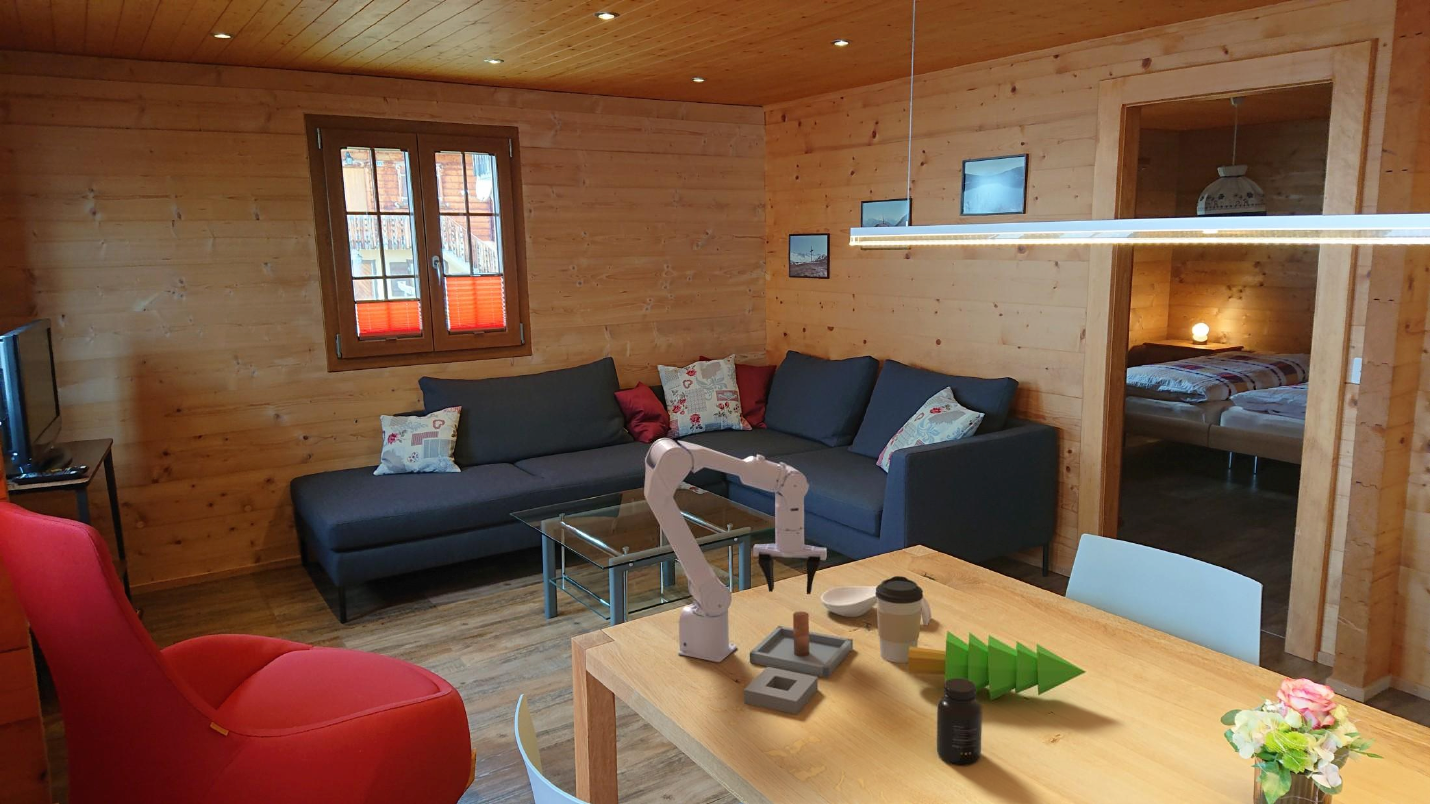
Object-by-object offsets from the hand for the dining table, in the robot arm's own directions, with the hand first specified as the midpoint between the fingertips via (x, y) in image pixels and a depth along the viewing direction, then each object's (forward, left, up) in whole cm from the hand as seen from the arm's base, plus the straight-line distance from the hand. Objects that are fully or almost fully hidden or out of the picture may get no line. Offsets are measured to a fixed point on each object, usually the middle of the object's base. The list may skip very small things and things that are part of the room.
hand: (790, 591), depth 192 cm
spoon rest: (+11, +20, -11) cm, 25 cm away
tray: (+5, -6, -10) cm, 13 cm away
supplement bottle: (+41, -29, -11) cm, 51 cm away
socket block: (+8, -23, -10) cm, 26 cm away
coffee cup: (+22, +2, -11) cm, 24 cm away
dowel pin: (+5, -6, -10) cm, 13 cm away
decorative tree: (+42, -7, -11) cm, 44 cm away
